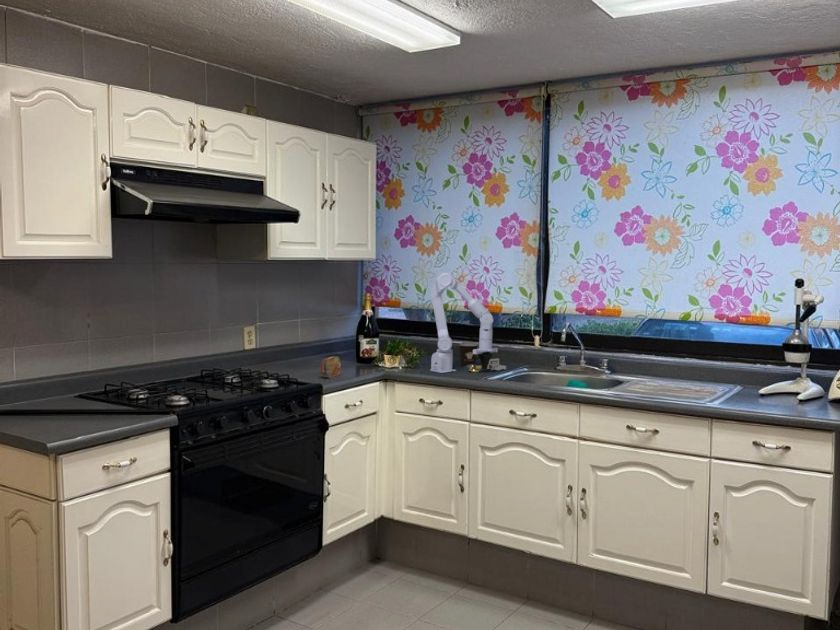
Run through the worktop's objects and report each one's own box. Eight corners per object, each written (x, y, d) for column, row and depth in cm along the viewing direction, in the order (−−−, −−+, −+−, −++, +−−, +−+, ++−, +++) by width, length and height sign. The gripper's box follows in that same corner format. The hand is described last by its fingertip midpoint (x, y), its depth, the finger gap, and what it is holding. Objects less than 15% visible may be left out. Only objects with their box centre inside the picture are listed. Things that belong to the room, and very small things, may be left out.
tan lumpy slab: (326, 379, 312) (326, 359, 311) (319, 379, 313) (320, 359, 312) (342, 374, 326) (342, 355, 326) (335, 374, 327) (335, 354, 327)
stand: (494, 370, 343) (495, 360, 343) (486, 369, 347) (486, 359, 346) (506, 369, 349) (506, 359, 348) (497, 367, 352) (498, 358, 352)
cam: (469, 372, 336) (470, 365, 336) (466, 370, 342) (466, 363, 342) (493, 372, 338) (494, 365, 338) (490, 370, 344) (490, 363, 344)
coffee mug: (456, 366, 354) (457, 345, 353) (461, 364, 362) (461, 343, 361) (481, 368, 351) (481, 346, 350) (484, 365, 359) (485, 344, 358)
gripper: (481, 340, 330) (480, 371, 331) (503, 339, 340) (502, 369, 341) (469, 339, 335) (468, 369, 336) (491, 337, 345) (490, 367, 346)
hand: (484, 369), depth 339 cm, fingers closed, pressing on cam
